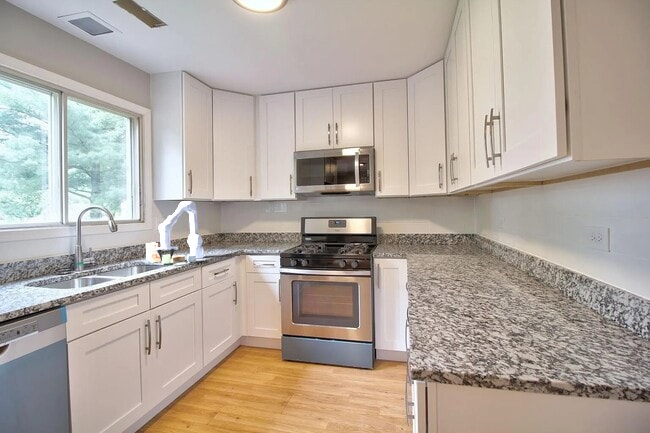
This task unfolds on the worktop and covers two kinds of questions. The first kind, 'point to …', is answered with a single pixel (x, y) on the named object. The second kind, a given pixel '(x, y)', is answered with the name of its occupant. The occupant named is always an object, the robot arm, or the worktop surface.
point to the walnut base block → (178, 258)
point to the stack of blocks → (152, 253)
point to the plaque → (181, 264)
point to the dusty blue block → (191, 258)
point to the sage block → (166, 259)
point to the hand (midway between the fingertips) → (166, 260)
